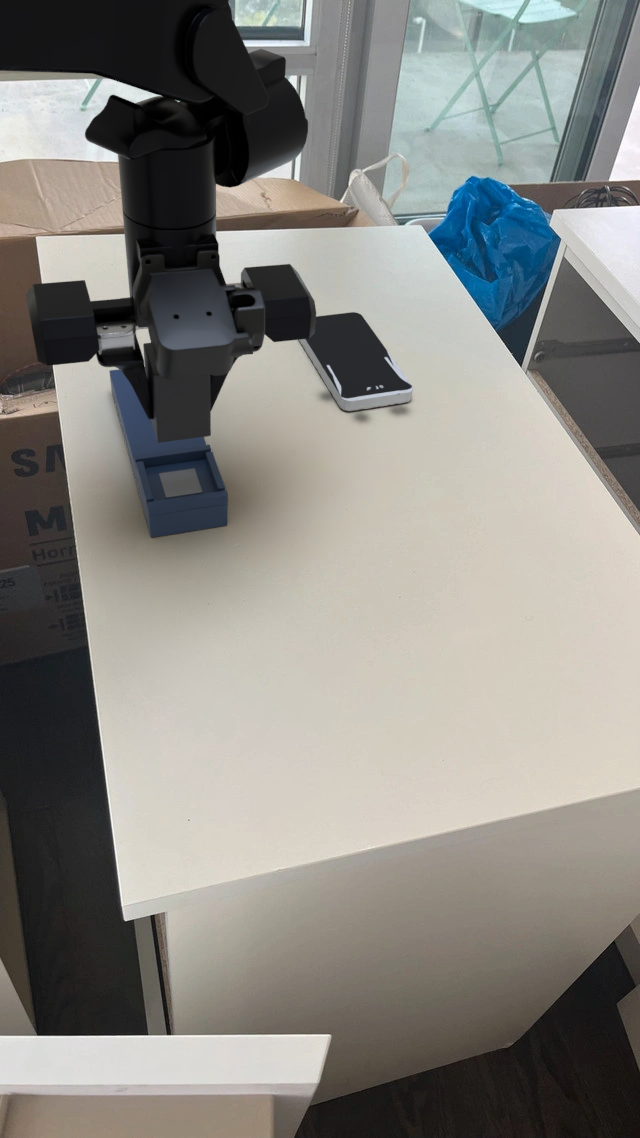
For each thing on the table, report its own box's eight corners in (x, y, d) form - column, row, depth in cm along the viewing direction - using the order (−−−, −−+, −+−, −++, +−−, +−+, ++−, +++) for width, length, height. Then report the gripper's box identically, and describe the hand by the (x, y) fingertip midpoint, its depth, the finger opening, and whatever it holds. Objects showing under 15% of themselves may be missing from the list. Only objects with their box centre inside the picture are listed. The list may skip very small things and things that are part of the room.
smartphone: (359, 311, 93) (416, 391, 83) (357, 322, 94) (413, 402, 84) (293, 319, 90) (344, 402, 81) (292, 330, 91) (342, 413, 82)
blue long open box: (150, 538, 69) (148, 507, 66) (111, 392, 81) (108, 360, 79) (227, 525, 71) (228, 494, 68) (178, 384, 83) (176, 353, 80)
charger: (157, 443, 63) (153, 375, 58) (148, 410, 65) (143, 342, 61) (212, 436, 64) (211, 368, 60) (200, 404, 66) (198, 337, 62)
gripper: (24, 288, 45) (63, 503, 56) (354, 262, 50) (329, 464, 61) (7, 194, 52) (45, 402, 63) (299, 179, 57) (285, 375, 68)
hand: (178, 412), depth 64 cm, fingers closed on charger, 4 cm apart
